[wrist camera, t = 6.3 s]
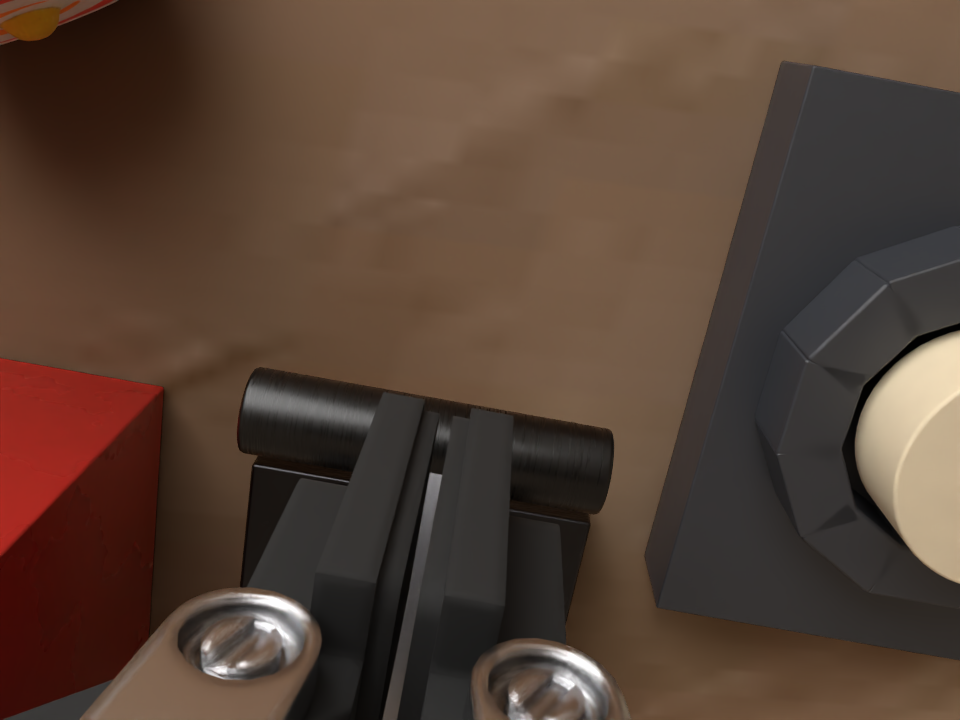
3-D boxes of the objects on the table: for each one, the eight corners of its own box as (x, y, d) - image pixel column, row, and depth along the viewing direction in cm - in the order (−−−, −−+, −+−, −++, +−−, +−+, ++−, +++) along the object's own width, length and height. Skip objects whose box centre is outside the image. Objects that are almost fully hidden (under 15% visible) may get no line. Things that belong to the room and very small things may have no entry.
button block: (780, 60, 19) (846, 69, 15) (1203, 140, 19) (1371, 169, 15) (643, 556, 23) (668, 659, 19) (992, 617, 23) (1083, 730, 20)
